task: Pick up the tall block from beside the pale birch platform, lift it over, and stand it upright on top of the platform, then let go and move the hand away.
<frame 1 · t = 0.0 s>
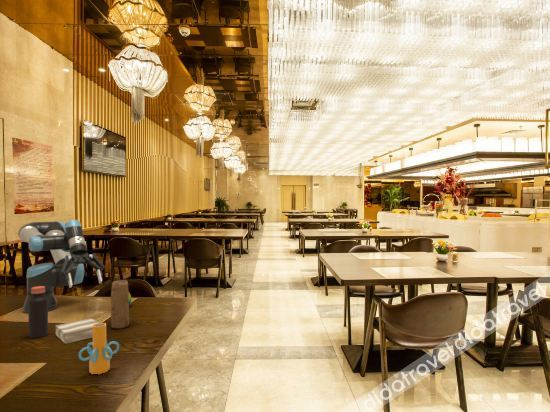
hand: (86, 284, 181), 15 cm above the table, tool tilted 35°, fingers open, 13 cm apart
bottle: (38, 335, 153), on the table
block: (120, 325, 165), on the table
decorative egg: (123, 307, 195), on the table
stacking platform: (79, 334, 153), on the table
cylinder: (99, 371, 120), on the table
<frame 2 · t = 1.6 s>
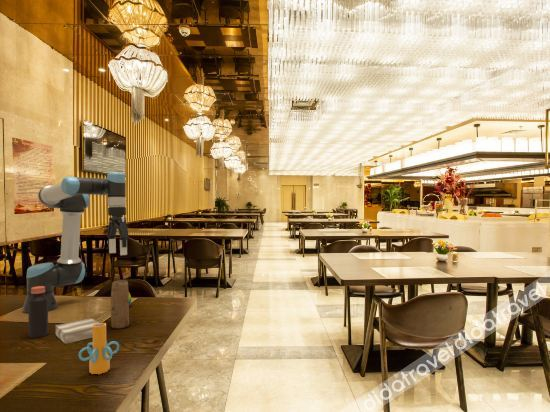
hand: (117, 254, 166), 32 cm above the table, tool pointing down, fingers open, 13 cm apart
nothing on the table moved.
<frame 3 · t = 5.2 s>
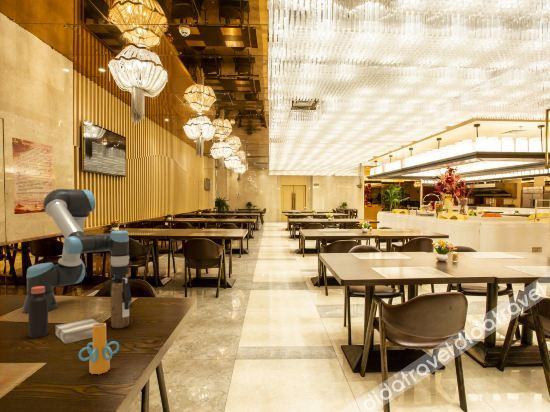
hand: (120, 313, 165), 5 cm above the table, tool pointing down, fingers closed on block, 11 cm apart
block: (120, 325, 165), on the table, touching gripper
everything else where it was.
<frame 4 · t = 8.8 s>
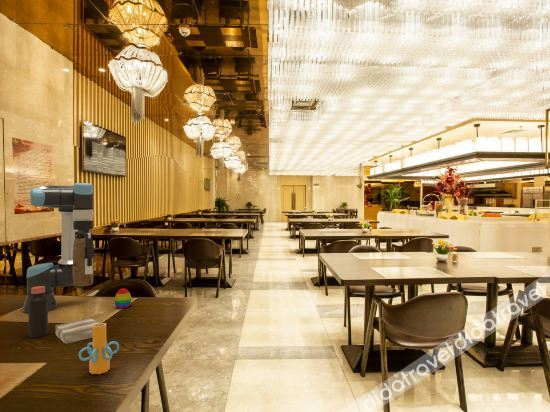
hand: (83, 272, 155), 26 cm above the table, tool pointing down, fingers closed on block, 11 cm apart
block: (83, 284, 155), point 20 cm above the table, touching gripper
everything else where it was.
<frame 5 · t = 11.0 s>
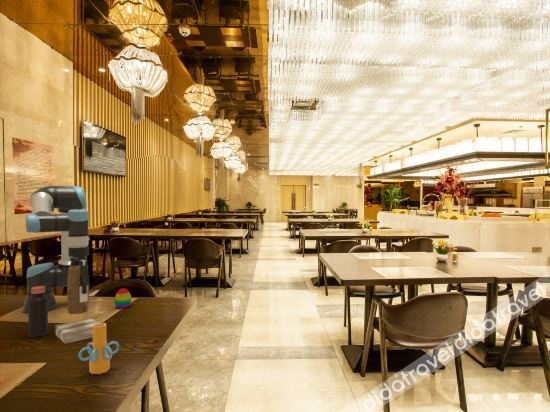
hand: (78, 299, 153), 15 cm above the table, tool pointing down, fingers closed on block, 11 cm apart
block: (78, 311, 153), point 10 cm above the table, touching gripper
everything else where it was.
when the fingers open (11 cm above the table, at t = 12.9 s): block drops 2 cm, resting on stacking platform.
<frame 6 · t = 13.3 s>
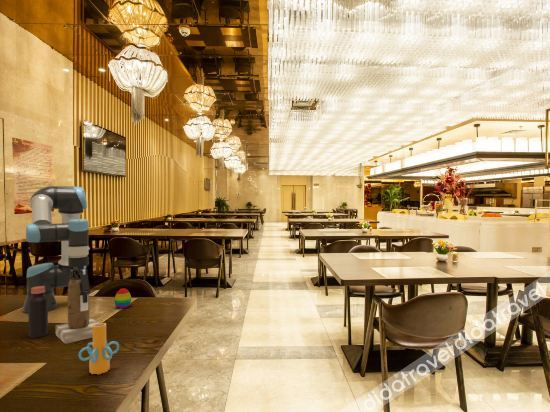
hand: (78, 307, 153), 11 cm above the table, tool pointing down, fingers open, 13 cm apart
block: (79, 325, 153), point 4 cm above the table, touching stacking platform
everything else where it was.
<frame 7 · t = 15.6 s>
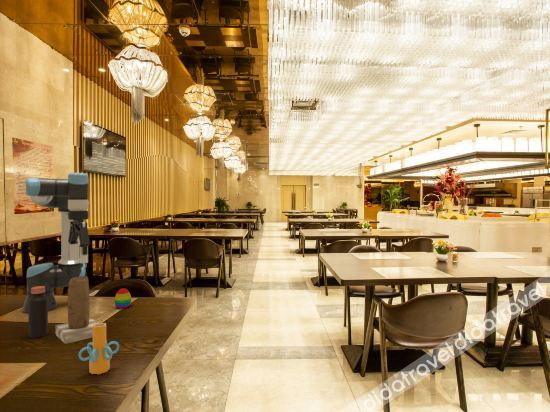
hand: (78, 261, 154), 31 cm above the table, tool pointing down, fingers open, 13 cm apart
nothing on the table moved.
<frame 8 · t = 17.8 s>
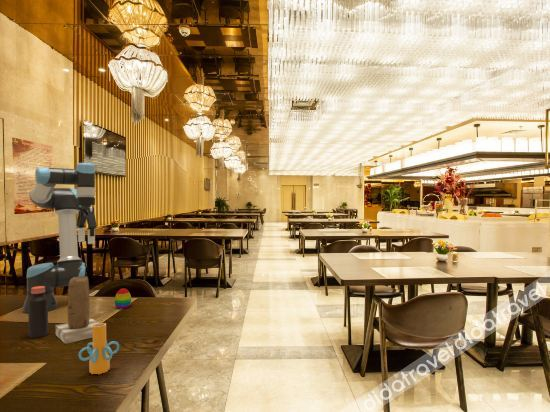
hand: (86, 242, 170), 37 cm above the table, tool pointing down, fingers open, 13 cm apart
nothing on the table moved.
at the end: block inside the target area on the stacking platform (0.1 cm from its centre), point 3.8 cm above the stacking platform's base; block tilted 0°; the gripper is holding nothing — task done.
